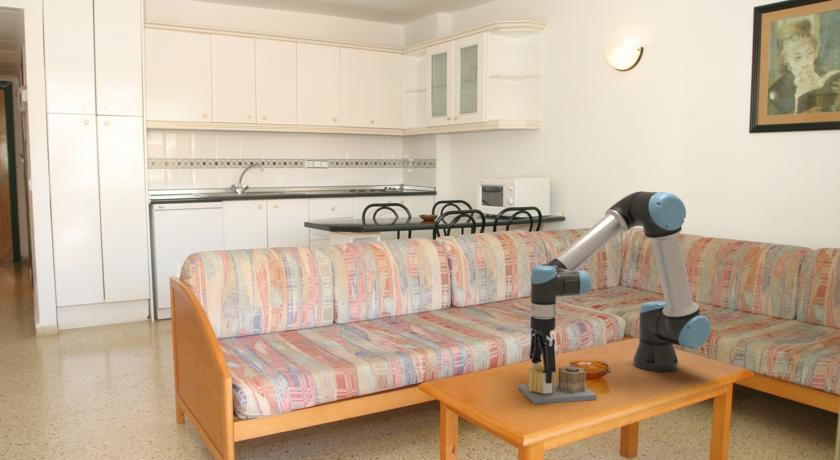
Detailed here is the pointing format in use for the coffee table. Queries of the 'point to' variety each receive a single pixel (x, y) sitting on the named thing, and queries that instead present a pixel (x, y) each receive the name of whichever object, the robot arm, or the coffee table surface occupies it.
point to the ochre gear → (538, 379)
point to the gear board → (557, 394)
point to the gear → (572, 380)
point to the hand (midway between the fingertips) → (541, 387)
